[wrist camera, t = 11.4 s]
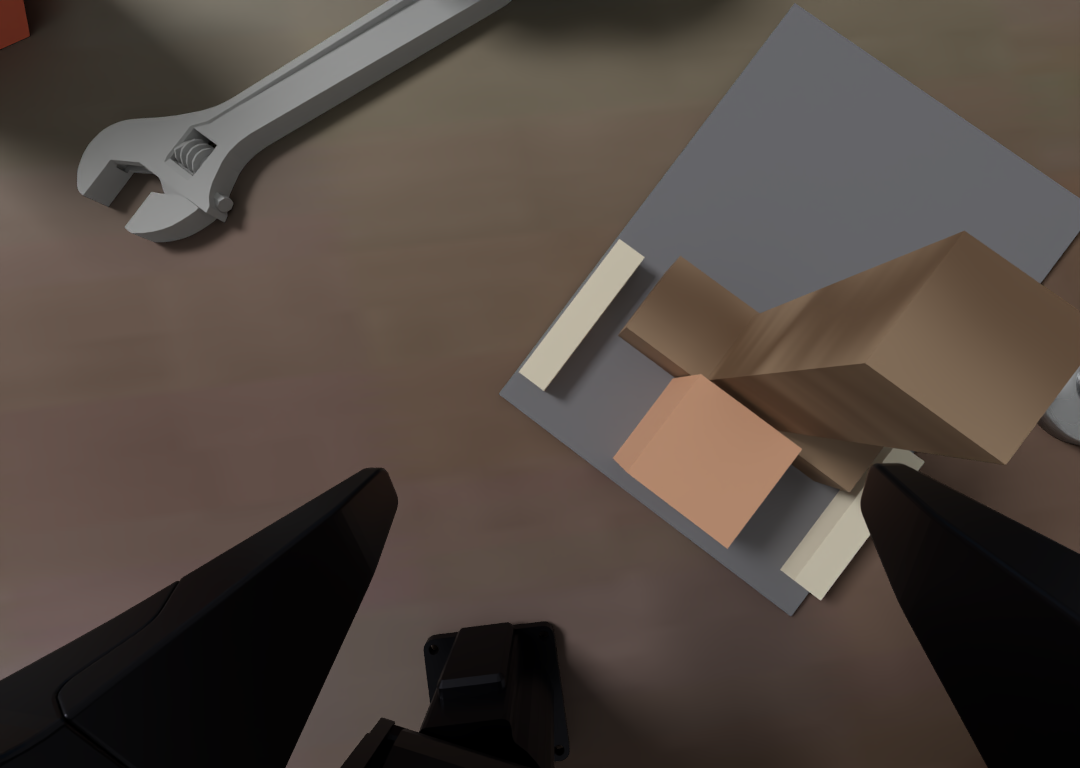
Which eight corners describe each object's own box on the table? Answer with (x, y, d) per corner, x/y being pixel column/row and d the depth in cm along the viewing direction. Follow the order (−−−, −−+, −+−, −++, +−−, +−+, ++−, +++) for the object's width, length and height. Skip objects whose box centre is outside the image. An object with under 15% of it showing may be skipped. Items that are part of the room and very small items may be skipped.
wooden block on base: (814, 481, 21) (1170, 595, 9) (617, 335, 21) (701, 255, 9) (862, 416, 21) (1284, 442, 9) (665, 272, 21) (810, 111, 9)
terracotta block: (694, 519, 21) (727, 548, 17) (612, 458, 21) (626, 472, 17) (754, 439, 21) (802, 449, 17) (673, 378, 21) (701, 373, 17)
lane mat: (786, 612, 21) (805, 630, 19) (499, 394, 22) (495, 393, 20) (1085, 213, 21) (1129, 198, 20) (790, 10, 22) (809, -21, 20)
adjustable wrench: (504, -40, 23) (501, -76, 21) (557, 62, 23) (557, 33, 21) (97, 165, 23) (60, 146, 21) (144, 268, 23) (110, 257, 21)
